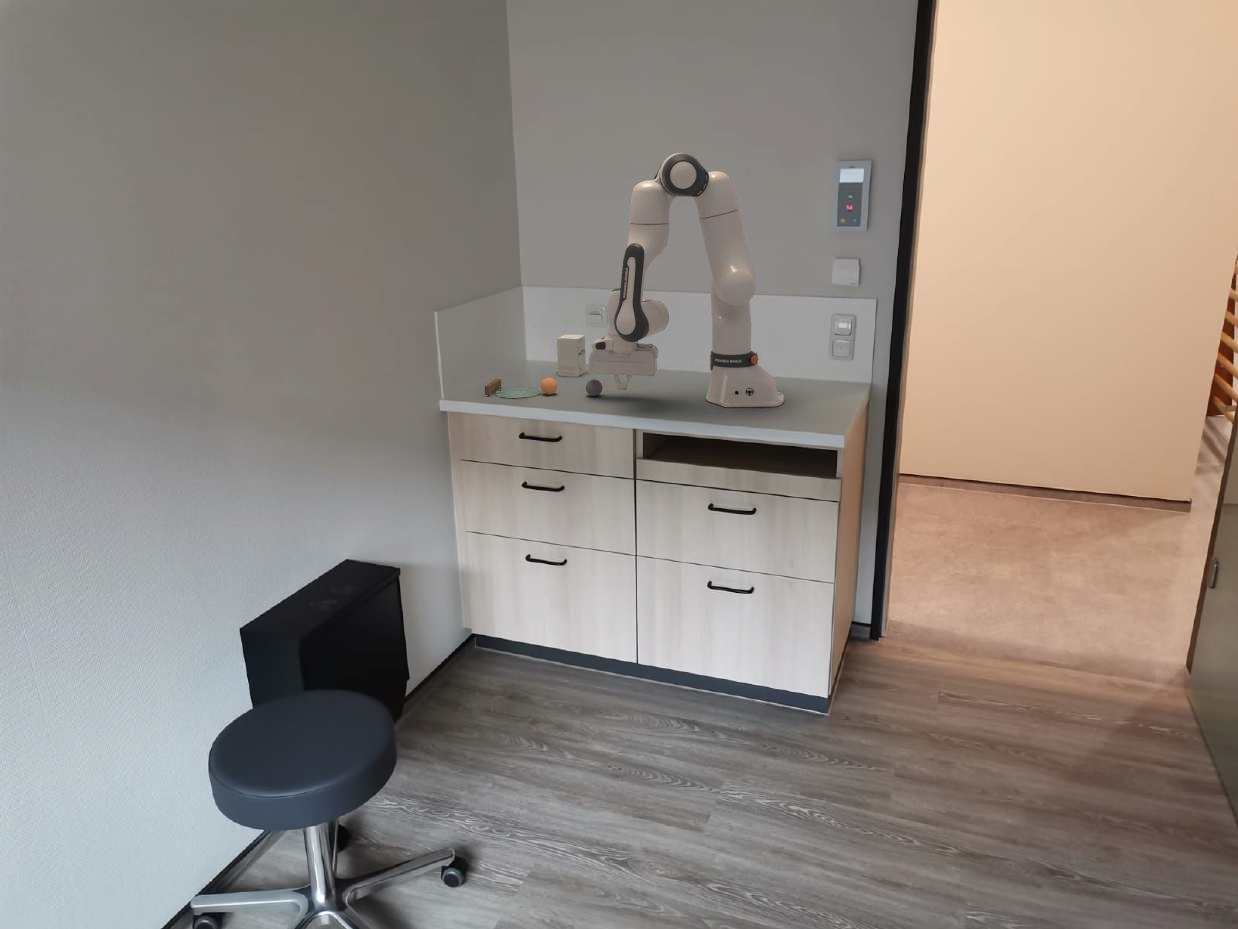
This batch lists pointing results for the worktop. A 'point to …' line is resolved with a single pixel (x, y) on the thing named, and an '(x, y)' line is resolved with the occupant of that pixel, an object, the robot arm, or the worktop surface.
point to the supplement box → (571, 355)
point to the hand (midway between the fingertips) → (622, 389)
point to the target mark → (510, 393)
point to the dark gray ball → (594, 387)
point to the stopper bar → (493, 387)
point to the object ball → (549, 386)
